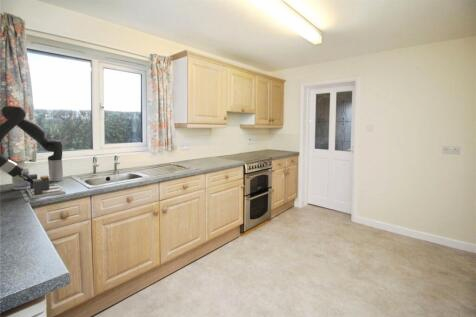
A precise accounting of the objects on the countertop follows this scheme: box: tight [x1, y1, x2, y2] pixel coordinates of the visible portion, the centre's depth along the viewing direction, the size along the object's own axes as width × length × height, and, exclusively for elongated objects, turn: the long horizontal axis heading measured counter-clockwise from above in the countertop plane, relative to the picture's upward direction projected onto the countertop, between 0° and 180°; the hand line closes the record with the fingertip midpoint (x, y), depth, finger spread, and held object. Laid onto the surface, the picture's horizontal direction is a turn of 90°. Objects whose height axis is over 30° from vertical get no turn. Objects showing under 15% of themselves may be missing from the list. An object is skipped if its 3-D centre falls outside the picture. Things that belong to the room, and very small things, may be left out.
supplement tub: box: [11, 166, 30, 191], centre depth 182 cm, size 10×10×15 cm
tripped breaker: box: [39, 174, 50, 190], centre depth 174 cm, size 4×4×9 cm
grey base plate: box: [25, 173, 66, 199], centre depth 174 cm, size 28×18×11 cm, turn 44°
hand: (37, 184), depth 172 cm, fingers closed
